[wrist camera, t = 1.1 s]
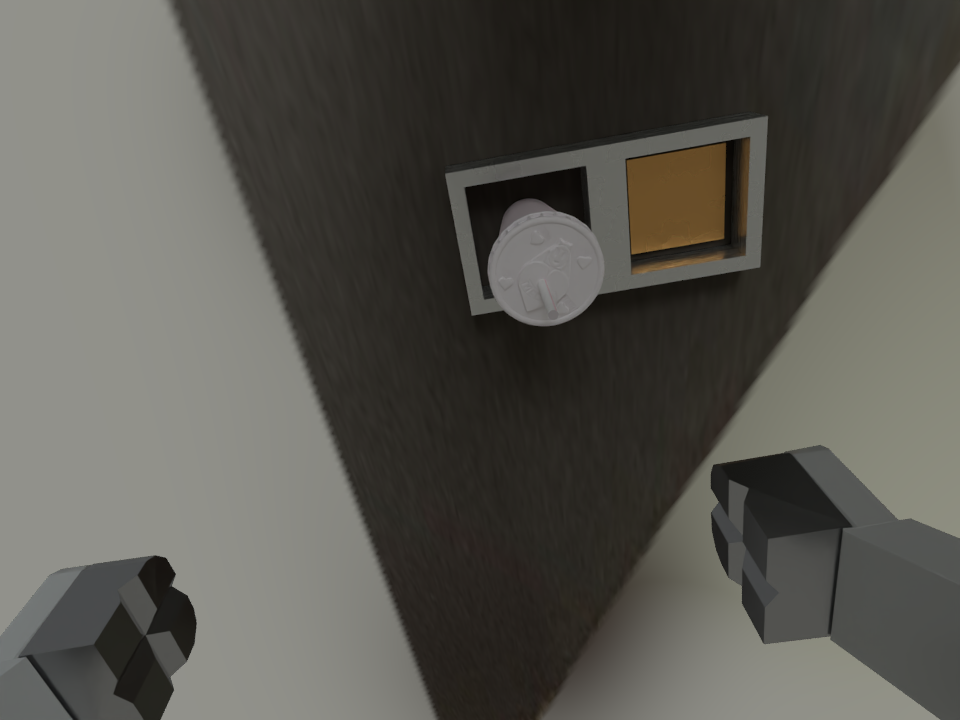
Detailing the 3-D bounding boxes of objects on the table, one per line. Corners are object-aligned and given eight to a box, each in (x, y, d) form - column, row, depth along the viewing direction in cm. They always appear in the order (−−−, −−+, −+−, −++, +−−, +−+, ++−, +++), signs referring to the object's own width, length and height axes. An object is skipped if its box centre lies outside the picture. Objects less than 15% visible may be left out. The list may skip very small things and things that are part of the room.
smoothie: (465, 246, 42) (469, 333, 30) (508, 159, 40) (533, 216, 27) (546, 284, 44) (581, 382, 31) (592, 203, 41) (652, 275, 29)
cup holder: (445, 166, 40) (444, 173, 37) (750, 111, 39) (767, 115, 37) (471, 301, 44) (471, 315, 42) (744, 255, 43) (760, 267, 41)
